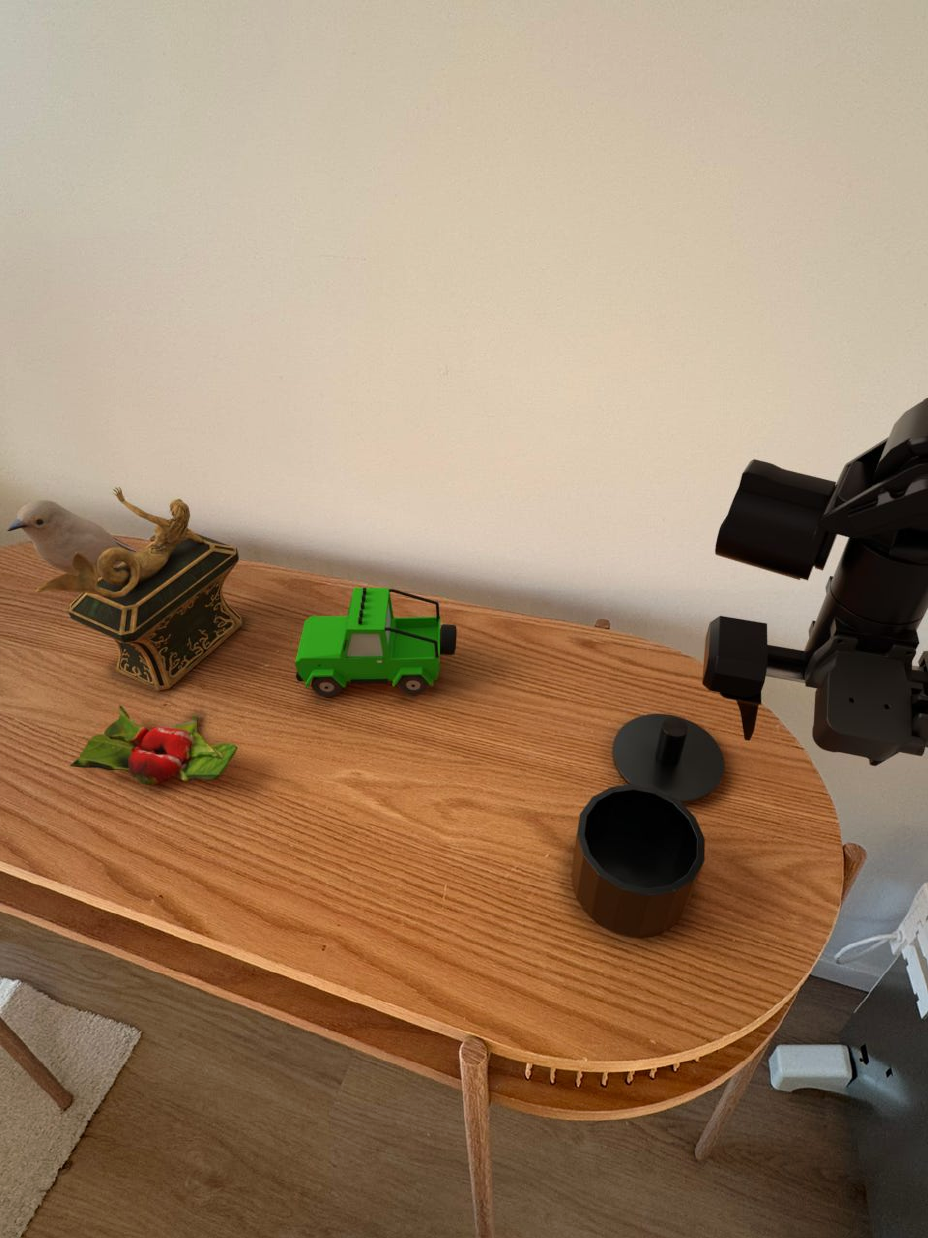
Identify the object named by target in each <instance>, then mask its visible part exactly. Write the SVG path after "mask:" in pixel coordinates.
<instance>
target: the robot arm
mask: <svg viewBox="0 0 928 1238" xmlns="http://www.w3.org/2000/svg"><path fill="white" fill-rule="evenodd" d="M838 536H841V537H845V538H847V541H846V543H845V545H844V548H843V551H842V553H841V556H840V559H839V561H838V563H837V566H836V569H835V571H834V574H833V576H832V575H829V578H828V580H827V582H826V585H825V593H826V594H825V597H824V599H823V602H822V604H821V607H820V610H819V612H818V615H817V617H816V619H815V620H812V621H811V623H810V626H809V627H808V640H807V642H806V646H805V647H804V650H801V649H796V648H795V649H794V648H789V647H783V646H777V645H772V644H768V623H767V622H760V621H755V620H748V619H743V618H736V617H731V616H724V615H718V616H717V617H716V618H714V619H713V620H711V621H710V622H709V623H708V628H707V631H706V634H705V639H704V652H703V653H704V654H703V665H702V666H703V668H702V679H701V685H702V686H704V687H705V688H706V689H707V691H710V692H714V693H718V694H719V695H720V696H721V697H722V698H724V699H726V700H733V701H736V704H737V706H738V710H739V712H740V719H741V725H742V726H741V727H742V731H743V738H744V741H747V742H750V741H751V739H752V737H753V735H754V732H755V729H756V723H757V718H758V711H759V707H760V706H761V705H762V691H763V688H764V685H765V681H766V677H769V678H775V679H779V680H785V681H790V682H796V683H801V684H804V686H805V687H807V688H813V689H815V692H814V706H813V707H814V708H813V709H814V710H813V725H812V732H811V734H812V735H811V736H812V740H813V742H814V743H815V745H816V746H817V747H819V748H820V749H821V750H823V751H826V752H830V753H842V754H846V755H851V756H857V757H862V758H866V759H868V763H869V766H873V767H877V766H879V765H881V764H882V763H884V762H885V761H887V760H889V759H891V758H892V757H894V756H896V755H897V754H899V753H902V754H907V755H911V756H918V757H922V756H924V754H925V751H926V748H928V650H923V652H922V654H921V655H920V657H919V659H918V661H917V662H918V665H913V661H914V659H915V657H916V655H917V649H918V647H919V646H920V639H919V635H918V628H919V627H920V625H921V623H922V620H923V619H924V617H925V615H926V614H927V611H928V397H925V398H924V399H923V400H922V401H920V402H918V403H917V404H915V405H914V406H912V407H911V408H909V409H907V410H906V411H905V412H903V414H901V416H899V418H898V419H897V420H896V421H895V422H894V424H893V427H892V429H891V430H890V434H889V435H888V436H887V437H886V438H884V439H882V441H879V442H878V443H876V444H875V445H874V446H872V447H870V448H869V449H867V450H866V451H864V452H862V453H860V454H859V455H857V456H856V457H854V458H853V459H851V460H850V461H848V462H846V463H845V464H844V466H843V467H842V469H841V472H840V474H839V477H838V479H837V481H834V480H830V479H826V478H821V477H817V476H813V475H809V474H805V473H802V472H797V471H793V470H789V469H785V468H782V467H780V466H778V465H776V464H774V463H771V462H768V461H764V460H760V459H756V458H753V459H752V460H749V462H748V464H747V465H746V466H745V468H744V470H743V472H742V473H741V476H740V480H739V485H738V487H737V490H736V492H735V494H734V496H733V499H732V501H731V503H730V507H729V509H728V511H727V514H726V516H725V518H724V520H723V521H722V522H721V524H720V527H719V529H718V533H717V537H716V541H715V547H714V553H715V554H714V555H716V556H718V557H722V558H724V559H727V560H731V561H734V562H738V563H741V564H743V565H748V566H751V567H754V568H757V569H762V570H765V571H767V572H771V573H773V574H774V573H775V574H778V575H781V576H785V577H788V578H791V579H795V580H796V581H797V580H798V581H801V579H802V580H805V581H809V579H810V576H811V574H812V572H813V569H816V570H819V571H822V572H823V571H824V569H825V568H826V564H827V562H828V560H829V557H830V554H831V552H832V550H833V547H834V544H835V542H836V540H837V537H838Z"/></svg>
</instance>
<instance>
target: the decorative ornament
mask: <svg viewBox="0 0 928 1238" xmlns="http://www.w3.org/2000/svg"><path fill="white" fill-rule="evenodd" d="M118 711H119V715H118V719H116V720H115V721H114V722H112V723H111V724H110V725H109V726H107V727H106V728H105V730H104V731H103V734H102V733H98V734H95V735H93V736H91V737H90V739H89V740H88V741H87V743H86V745H85V746H84V748H83V750H82V751H81V754H80V755H79V756H78V758H77V759H76V760H75V761H73V762H72V763H70V767H72V768H83V769H95V768H97V769H102V770H106V771H124V772H129V773H130V776H131V777H132V778H134V779H135V781H136V782H138V783H141V784H142V785H145V786H150V787H152V786H155V785H158V784H160V783H162V782H164V781H166V780H167V779H170V778H172V777H173V776H174V775H175V774H176V773H178V778H180V779H181V781H184V782H188V781H192V780H205V781H207V782H208V781H214V780H215V781H216V780H217V779H218V778H220V777H221V775H222V774H223V773H224V772H225V771H226V769H227V768H228V766H229V764H230V762H231V761H232V759H233V758H234V756H235V754H236V753H237V751H238V746H237V745H236V744H232V743H224V742H222V743H218V744H213V745H210V744H208V743H207V741H206V739H205V737H204V736H203V735H201V734H200V733H198V723H199V722H198V721H199V716H198V715H197V714H194V715H193V716H192V718H191V719H190V720H189V721H186V722H181V723H177V724H174V725H172V726H171V725H170V726H169V727H166V726H156V727H153V728H152V729H149V730H148V728H147V727H145V726H142V725H140V724H139V723H137V722H135V720H134V719H133V718H131V717H130V716H129V714H128V713H127V711H126V710H125V708H124V707H123V706H122V705H119V706H118ZM190 749H191V750H190Z"/></svg>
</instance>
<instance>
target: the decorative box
mask: <svg viewBox="0 0 928 1238" xmlns="http://www.w3.org/2000/svg"><path fill="white" fill-rule="evenodd" d="M112 490H113V491H114V492H115V493H114V492H112V494H113V495H114V496H115V497H116V498H117V499H118V501H119V502H120V503H121V504H122V505H124V506H125V507H126V508H127V509H129V510H130V512H132V513H134V514H135V515H136V516H138V517H139V518H143V519H144V520H146V521H148V522H151V523H153V524H155V525H156V526H155V527H154V532H155V538H154V541H152V542H150V543H149V544H147V545H145V547H142V548H140V549H139V550H137V552H135V553H134V554H132V553H131V552H130V551H128V550H126V549H123V548H110V549H107V550H106V551H104V552H103V553H102V554H101V555H100V557H99V559H98V562H97V570H98V572H99V574H100V576H101V577H100V578H98V573H97V570H96V567H95V566H94V564H93V563H92V562H91V561H90V560H89V559H88V558H86V557H85V556H84V555H82V554H81V553H79V552H76V553H75V554H74V556H73V562H72V565H73V568H74V569H75V570H76V571H77V572H78V574H77V575H74V574H72V573H67V572H65V573H63V574H60V575H58V576H56V577H53V578H52V579H49V580H47V581H45V582H44V583H42V584H41V585H40V586H38V587H37V589H36V591H35V593H36V594H39V593H42V592H46V591H60V592H66V593H77V594H79V595H77V597H76V598H75V599H74V600H73V601H72V602H71V603H70V605H69V606H68V610H67V614H68V616H70V617H69V618H70V619H71V620H72V621H74V622H77V623H79V624H80V625H83V626H86V627H88V628H89V629H92V630H94V631H97V632H99V633H101V634H103V635H105V636H107V637H109V638H112V639H113V640H114V641H115V643H116V645H117V647H118V657H117V660H116V661H117V662H116V671H117V673H120V674H122V675H124V676H125V677H128V678H130V679H133V680H134V681H136V682H138V683H141V684H143V685H145V686H147V687H149V688H151V689H154V690H155V691H158V692H159V691H165V690H169V689H171V687H173V686H174V685H175V684H176V683H178V682H179V681H181V679H182V678H183V677H185V676H186V675H187V674H188V673H189V672H190V671H191V670H192V669H194V668H195V667H196V666H198V665H199V663H201V662H202V661H203V660H204V659H205V658H206V657H208V656H209V655H210V654H211V653H213V651H215V650H216V649H217V648H218V647H219V646H220V645H221V644H222V643H223V642H225V641H226V640H227V639H228V638H229V637H231V635H233V634H234V633H235V632H236V631H238V630H239V629H240V628H241V627H242V626H243V619H242V617H241V616H240V615H239V614H238V612H236V611H235V610H234V609H233V608H232V607H231V606H230V605H229V603H228V602H227V601H226V599H225V596H224V594H223V588H224V584H225V581H226V580H227V579H226V578H227V577H228V576H229V574H230V573H231V572H232V571H233V569H234V567H236V565H237V564H238V562H239V560H240V556H239V555H240V554H239V551H238V548H237V547H235V546H233V545H231V544H227V543H224V542H222V541H219V540H217V539H213V538H210V537H207V536H204V535H202V534H199V533H197V532H194V530H192V529H190V528H188V527H189V523H190V519H191V512H190V508H189V506H188V504H187V503H185V502H184V501H183V500H182V499H181V498H176V499H174V500H172V501H171V502H170V503H169V512H170V514H171V516H172V518H169V519H167V518H165V517H162V516H156V515H153V514H151V513H148V512H146V511H144V510H143V509H141V508H140V507H138V506H137V505H134V504H132V503H130V502H128V501H127V500H126V499H125V496H124V494H123V490H122V488H121V487H120V486H119V487H116V486H115V487H114V488H113V489H112ZM116 561H123V563H121V564H120V565H118V566H117V567H113V565H114V563H115V562H116Z"/></svg>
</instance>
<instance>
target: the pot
mask: <svg viewBox="0 0 928 1238" xmlns="http://www.w3.org/2000/svg"><path fill="white" fill-rule="evenodd" d="M705 854H706V838H705V836H704V834H703V832H702V829H701V827H700V824H699V822H698V820H697V818H696V816H695V815H694V814H693V813H692V812H691V811H690V810H689V809H688V808H687V807H686V806H685V804H682V803H681V802H680V801H679V800H678V799H676V798H674V797H672V796H670V795H668V794H666V793H664V792H662V791H661V790H659V789H656V788H652V787H647V786H642V785H636V784H623V785H615V786H609V787H608V788H606V789H604V790H603V791H601V792H599V793H597V794H596V795H593V796H592V797H591V798H590V799H589V801H588V802H587V803H586V804H585V807H584V808H583V809H582V810H581V812H580V814H579V818H578V826H577V831H576V839H575V846H574V853H573V860H572V867H571V872H570V877H571V884H572V889H573V892H574V896H575V897H576V899H577V901H578V904H579V906H580V907H581V908H582V910H583V911H584V912H585V913H586V914H587V916H588V917H589V918H590V919H591V920H592V921H594V922H595V923H596V924H597V925H599V926H600V927H602V928H604V929H605V930H608V931H609V932H611V933H614V934H616V935H619V936H622V937H627V938H633V939H637V938H638V939H644V938H645V939H646V938H651V937H656V936H659V935H661V934H664V933H666V932H668V931H669V930H670V929H672V928H673V927H675V926H676V924H678V922H679V921H680V920H681V918H682V917H683V915H684V914H685V912H686V909H687V907H688V906H689V903H690V901H691V898H692V895H693V893H694V890H695V888H696V885H697V882H698V879H699V877H700V875H701V871H702V868H703V867H704V863H705V859H706V857H705V856H706V855H705Z"/></svg>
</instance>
